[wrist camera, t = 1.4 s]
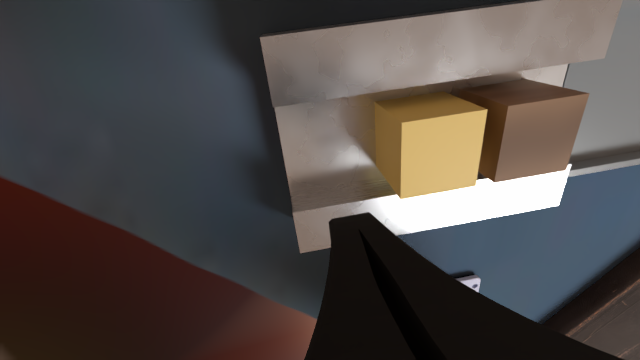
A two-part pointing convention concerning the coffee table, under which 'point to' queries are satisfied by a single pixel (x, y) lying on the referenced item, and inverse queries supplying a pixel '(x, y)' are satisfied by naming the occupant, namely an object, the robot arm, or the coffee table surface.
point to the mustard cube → (428, 143)
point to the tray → (610, 100)
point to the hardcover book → (606, 312)
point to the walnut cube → (526, 127)
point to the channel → (410, 80)
